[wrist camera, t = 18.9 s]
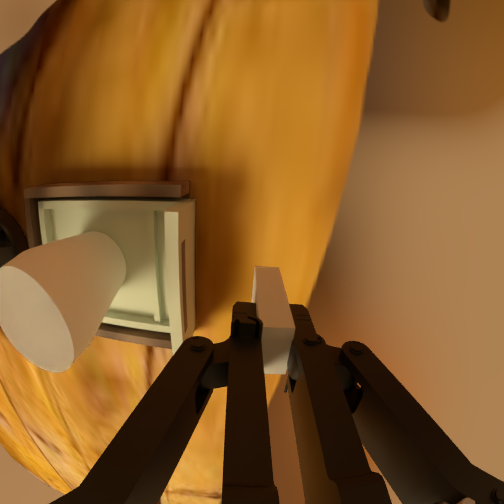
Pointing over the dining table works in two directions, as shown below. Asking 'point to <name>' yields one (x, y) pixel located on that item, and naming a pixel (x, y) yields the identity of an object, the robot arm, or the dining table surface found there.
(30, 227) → the dock
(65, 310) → the cup
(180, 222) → the tray
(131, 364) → the dining table surface
